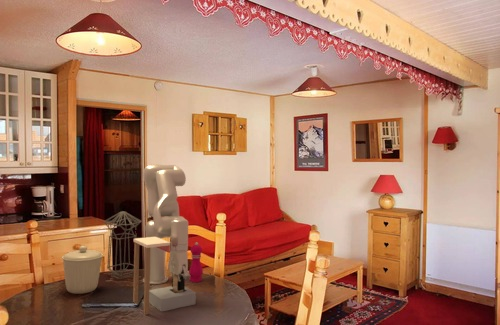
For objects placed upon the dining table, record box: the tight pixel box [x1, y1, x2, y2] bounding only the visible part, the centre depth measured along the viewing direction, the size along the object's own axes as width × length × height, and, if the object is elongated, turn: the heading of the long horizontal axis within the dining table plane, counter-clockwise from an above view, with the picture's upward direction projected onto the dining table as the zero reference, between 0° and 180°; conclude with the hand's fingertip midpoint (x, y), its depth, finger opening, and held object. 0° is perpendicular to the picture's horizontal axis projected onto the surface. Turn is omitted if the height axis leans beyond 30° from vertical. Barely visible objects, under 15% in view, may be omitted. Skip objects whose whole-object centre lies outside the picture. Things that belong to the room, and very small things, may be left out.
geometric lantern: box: [103, 210, 143, 280], centre depth 211 cm, size 16×16×35 cm
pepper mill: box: [188, 241, 204, 283], centre depth 206 cm, size 7×7×20 cm
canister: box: [61, 245, 104, 295], centre depth 186 cm, size 18×18×21 cm
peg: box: [173, 272, 183, 293], centre depth 174 cm, size 4×4×12 cm
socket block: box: [149, 285, 197, 313], centre depth 172 cm, size 14×16×5 cm
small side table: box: [132, 237, 171, 316], centre depth 166 cm, size 15×10×28 cm, turn 37°
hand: (178, 287), depth 174 cm, fingers open, 4 cm apart
